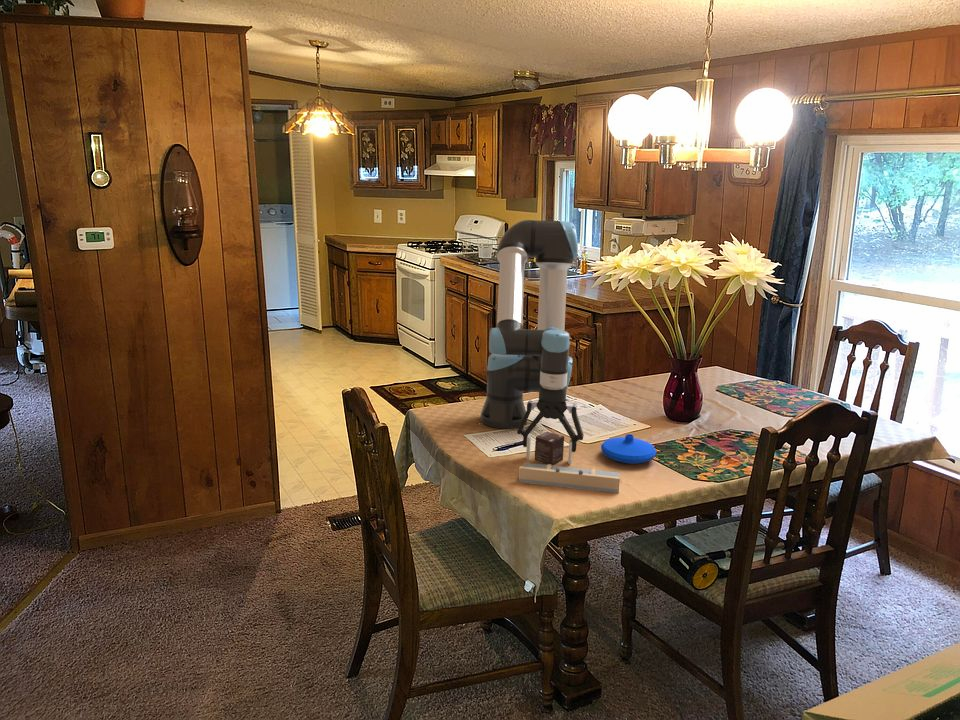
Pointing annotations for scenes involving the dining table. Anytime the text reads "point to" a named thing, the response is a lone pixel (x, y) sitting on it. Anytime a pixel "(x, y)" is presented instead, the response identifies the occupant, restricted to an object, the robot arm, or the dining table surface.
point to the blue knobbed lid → (628, 449)
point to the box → (549, 448)
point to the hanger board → (569, 477)
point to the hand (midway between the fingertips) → (548, 459)
